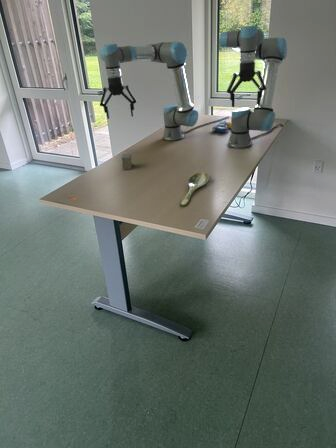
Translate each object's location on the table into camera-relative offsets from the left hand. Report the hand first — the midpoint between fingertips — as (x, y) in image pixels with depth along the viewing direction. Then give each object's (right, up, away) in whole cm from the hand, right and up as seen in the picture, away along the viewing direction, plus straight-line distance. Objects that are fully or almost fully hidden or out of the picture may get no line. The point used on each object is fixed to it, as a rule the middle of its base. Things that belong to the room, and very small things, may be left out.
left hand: (120, 117), depth 189 cm
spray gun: (+70, +12, +68) cm, 99 cm away
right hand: (+69, +3, -10) cm, 69 cm away
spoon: (+40, -43, -19) cm, 62 cm away
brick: (+2, -26, +16) cm, 30 cm away
